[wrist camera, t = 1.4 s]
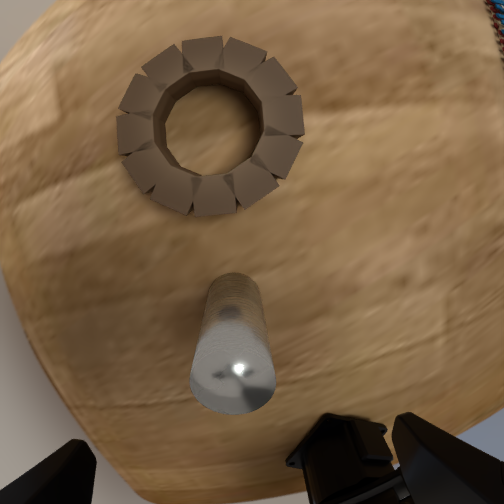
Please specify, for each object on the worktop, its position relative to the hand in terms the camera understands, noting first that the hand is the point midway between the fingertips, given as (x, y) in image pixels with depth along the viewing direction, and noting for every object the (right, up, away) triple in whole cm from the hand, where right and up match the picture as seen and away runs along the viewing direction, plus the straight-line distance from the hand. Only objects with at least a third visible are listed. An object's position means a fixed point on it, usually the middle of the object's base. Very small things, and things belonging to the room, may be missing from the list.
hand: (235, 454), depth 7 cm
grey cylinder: (-1, +3, +11) cm, 11 cm away
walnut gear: (-2, +12, +8) cm, 15 cm away
